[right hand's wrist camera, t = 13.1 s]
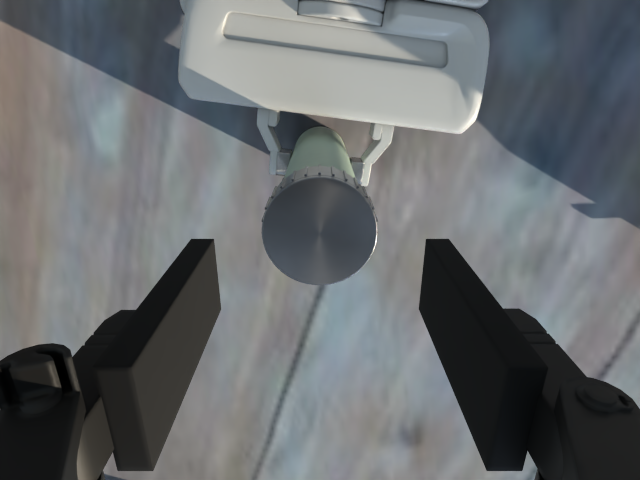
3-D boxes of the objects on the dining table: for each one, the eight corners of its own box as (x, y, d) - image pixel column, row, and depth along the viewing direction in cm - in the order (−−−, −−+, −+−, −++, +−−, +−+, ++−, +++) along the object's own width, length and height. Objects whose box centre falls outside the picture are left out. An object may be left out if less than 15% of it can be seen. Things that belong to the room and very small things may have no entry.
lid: (365, 154, 19) (371, 165, 17) (379, 256, 21) (386, 277, 19) (255, 174, 19) (247, 187, 17) (279, 272, 21) (274, 294, 19)
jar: (340, 122, 36) (362, 172, 17) (348, 172, 37) (376, 267, 19) (289, 131, 36) (258, 190, 18) (299, 181, 37) (280, 282, 19)
